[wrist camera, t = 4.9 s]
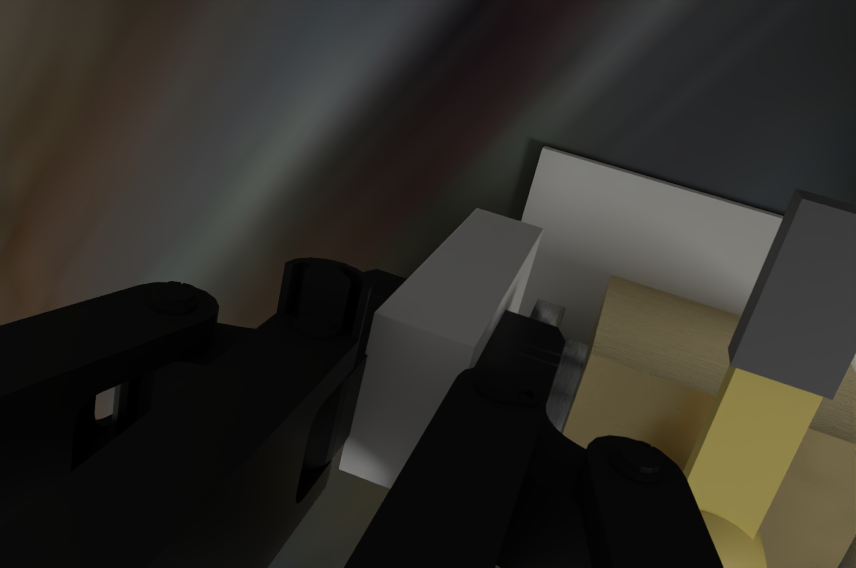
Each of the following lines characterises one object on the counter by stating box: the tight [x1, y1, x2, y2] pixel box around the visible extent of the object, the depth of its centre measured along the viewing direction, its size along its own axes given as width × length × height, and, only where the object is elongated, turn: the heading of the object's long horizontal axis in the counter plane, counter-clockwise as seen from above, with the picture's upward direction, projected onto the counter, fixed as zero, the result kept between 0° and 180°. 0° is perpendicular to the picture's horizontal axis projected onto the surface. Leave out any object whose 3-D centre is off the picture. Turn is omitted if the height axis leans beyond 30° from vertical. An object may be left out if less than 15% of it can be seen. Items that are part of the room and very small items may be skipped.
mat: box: [518, 146, 856, 372], centre depth 36 cm, size 18×19×1 cm
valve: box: [530, 275, 856, 568], centre depth 31 cm, size 9×18×11 cm, turn 76°
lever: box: [683, 189, 856, 568], centre depth 23 cm, size 14×4×1 cm, turn 166°
